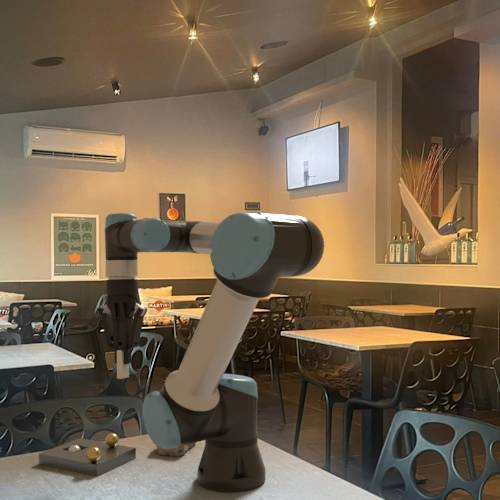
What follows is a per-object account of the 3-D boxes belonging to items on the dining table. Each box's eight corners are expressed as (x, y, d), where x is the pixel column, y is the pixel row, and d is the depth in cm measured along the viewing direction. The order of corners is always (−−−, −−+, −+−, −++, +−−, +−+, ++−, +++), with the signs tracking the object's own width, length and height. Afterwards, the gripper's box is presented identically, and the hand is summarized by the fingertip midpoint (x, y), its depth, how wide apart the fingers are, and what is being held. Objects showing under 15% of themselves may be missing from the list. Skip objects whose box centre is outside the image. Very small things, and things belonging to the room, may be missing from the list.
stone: (200, 441, 164) (163, 441, 165) (199, 420, 163) (162, 421, 164) (192, 462, 151) (152, 463, 152) (190, 439, 150) (150, 440, 151)
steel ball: (85, 451, 151) (78, 440, 152) (76, 454, 148) (69, 444, 149) (78, 459, 152) (72, 448, 153) (69, 462, 149) (62, 452, 150)
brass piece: (103, 460, 141) (103, 446, 141) (94, 464, 138) (94, 450, 138) (93, 458, 143) (93, 444, 143) (83, 462, 140) (83, 448, 140)
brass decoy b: (121, 445, 152) (121, 432, 152) (112, 449, 149) (112, 435, 149) (111, 443, 154) (111, 430, 154) (102, 447, 151) (102, 434, 151)
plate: (135, 458, 150) (135, 447, 150) (97, 476, 138) (97, 465, 138) (79, 447, 158) (79, 438, 158) (38, 463, 146) (38, 453, 146)
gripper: (153, 277, 147) (155, 376, 146) (109, 278, 152) (110, 373, 151) (135, 278, 140) (136, 382, 139) (89, 279, 145) (90, 378, 144)
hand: (123, 377), depth 145 cm, fingers closed
